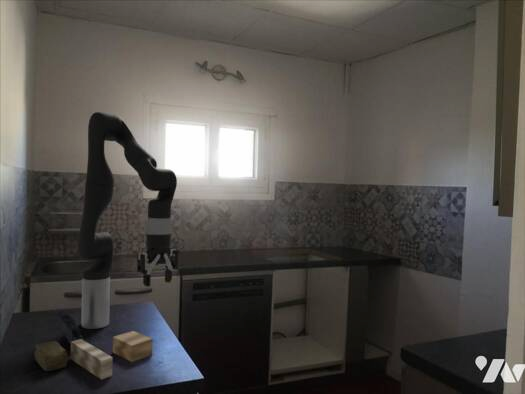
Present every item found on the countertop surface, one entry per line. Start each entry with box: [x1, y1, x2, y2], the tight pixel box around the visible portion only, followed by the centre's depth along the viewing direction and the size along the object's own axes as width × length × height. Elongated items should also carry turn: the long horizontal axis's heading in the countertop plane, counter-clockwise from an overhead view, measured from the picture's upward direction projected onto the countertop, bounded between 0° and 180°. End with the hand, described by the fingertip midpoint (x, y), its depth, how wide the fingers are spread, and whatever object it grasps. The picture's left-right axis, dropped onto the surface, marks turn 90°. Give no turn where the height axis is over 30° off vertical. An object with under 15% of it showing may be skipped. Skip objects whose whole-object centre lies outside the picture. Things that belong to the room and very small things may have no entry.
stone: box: [54, 309, 85, 345], centre depth 128 cm, size 14×6×10 cm, turn 66°
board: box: [70, 339, 113, 380], centre depth 113 cm, size 18×3×5 cm, turn 49°
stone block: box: [33, 340, 68, 372], centre depth 114 cm, size 6×12×5 cm, turn 44°
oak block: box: [112, 330, 154, 363], centre depth 123 cm, size 10×7×5 cm
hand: (157, 283), depth 128 cm, fingers open, 7 cm apart
